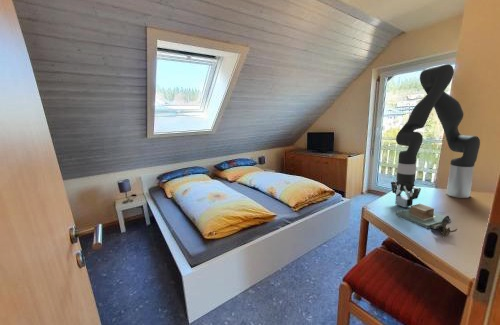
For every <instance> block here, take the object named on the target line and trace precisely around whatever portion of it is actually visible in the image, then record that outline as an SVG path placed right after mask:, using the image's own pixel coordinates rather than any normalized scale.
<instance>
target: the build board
mask: <svg viewBox="0 0 500 325" xmlns="http://www.w3.org/2000/svg"><path fill="white" fill-rule="evenodd" d="M395 216H399V217H401V218H403V219H405V220H408V221H410V222H412V223H415V224H417V225H419V226H421V227H424V228H426V229H431V228H432V227H431V226H433V225H439V224H442V220H443V219H444V218H445V217H446V216H443V215H441V214H438V213H435V212H434V215H433V217H431V218H427V219H424V220H423V219H421V218H419V217H416V216H414V215H411V214H410V208H408V209H403V210H399V211H396V212H395ZM449 219H450V220H449V223H450V222H451V218H450V217H449Z"/></svg>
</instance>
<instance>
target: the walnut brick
mask: <svg viewBox="0 0 500 325" xmlns="http://www.w3.org/2000/svg"><path fill="white" fill-rule="evenodd" d="M409 207H410V208H409V209H410V214H411V215H414V216H416V217H419V218H421V219H423V220H424V219H427V218H431V217H433V215H434V213H435V208H434V207H431V206H428V205H425V204H422V203H418V204H417V203H416V204H412V206H409Z"/></svg>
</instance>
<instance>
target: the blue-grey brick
mask: <svg viewBox="0 0 500 325" xmlns="http://www.w3.org/2000/svg"><path fill="white" fill-rule="evenodd" d="M400 195H401V196H396V195H395V205H397V206H400V207H403V208H408V207H409V206H407V199H408V197H407V195H406V194H405V195H404V194H400ZM412 205H413V204H412ZM412 205H411V206H412ZM411 206H410V207H411Z"/></svg>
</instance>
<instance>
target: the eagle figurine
mask: <svg viewBox="0 0 500 325" xmlns="http://www.w3.org/2000/svg"><path fill="white" fill-rule="evenodd" d="M444 217H445V218H444V219H443V220H442V224H439V225H433V226H431V227H430V228H431V229H433V230H436V229H438V230H439V231H440V234H442V238H444V237H446V236H447V235H450V233H454V232H456V231H458V229H457V228H456V229H452V230H451V228H450V227H448V228H447V225H448V224H450V222H449V220H450V219H451V218H450V216H449V215H446V216H444ZM449 218H450V219H449ZM450 221H451V220H450Z"/></svg>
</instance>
